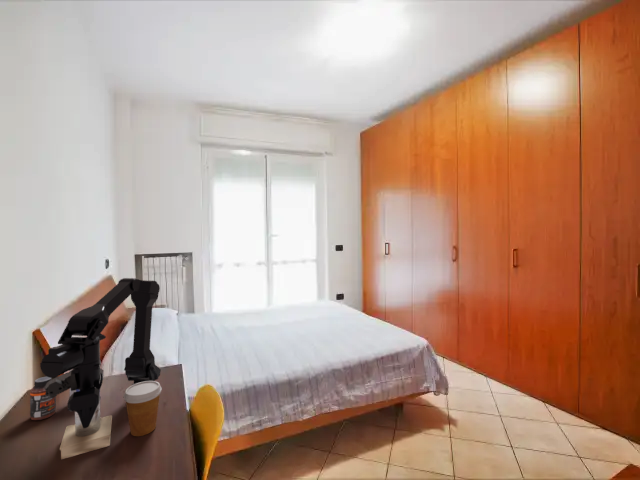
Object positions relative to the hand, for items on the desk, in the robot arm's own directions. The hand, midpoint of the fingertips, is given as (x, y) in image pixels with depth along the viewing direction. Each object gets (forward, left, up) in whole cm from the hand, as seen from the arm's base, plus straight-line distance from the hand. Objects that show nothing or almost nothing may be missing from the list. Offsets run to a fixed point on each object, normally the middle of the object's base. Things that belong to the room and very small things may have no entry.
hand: (87, 418), depth 85 cm
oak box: (0, 0, -6) cm, 6 cm away
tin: (0, 0, -3) cm, 3 cm away
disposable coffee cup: (-13, +2, -6) cm, 15 cm away
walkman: (+3, -26, -6) cm, 27 cm away
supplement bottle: (+13, -22, -6) cm, 26 cm away
